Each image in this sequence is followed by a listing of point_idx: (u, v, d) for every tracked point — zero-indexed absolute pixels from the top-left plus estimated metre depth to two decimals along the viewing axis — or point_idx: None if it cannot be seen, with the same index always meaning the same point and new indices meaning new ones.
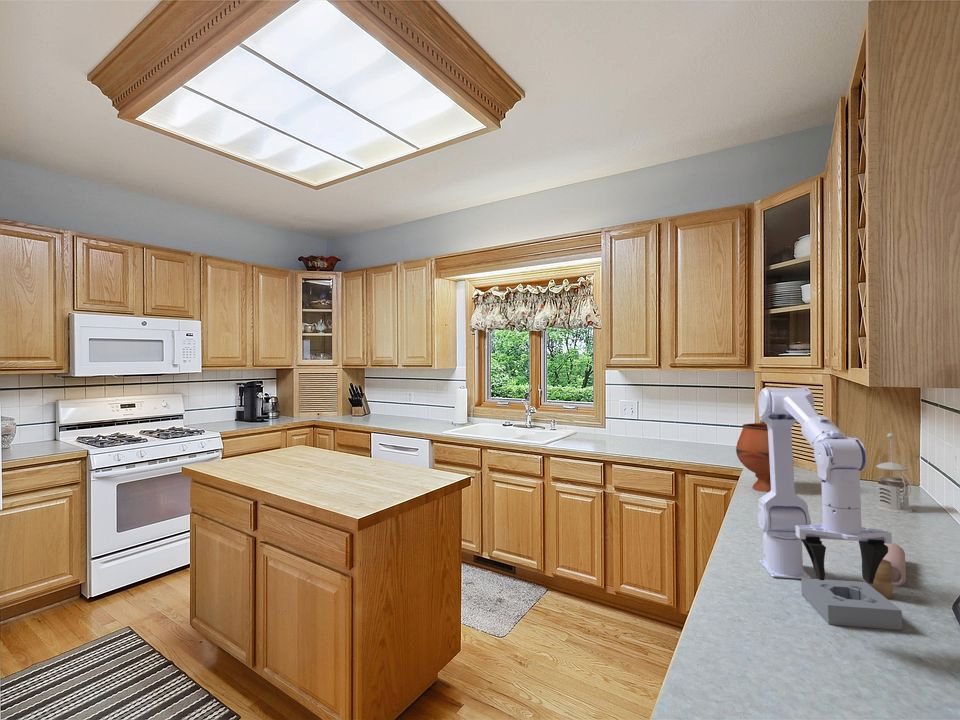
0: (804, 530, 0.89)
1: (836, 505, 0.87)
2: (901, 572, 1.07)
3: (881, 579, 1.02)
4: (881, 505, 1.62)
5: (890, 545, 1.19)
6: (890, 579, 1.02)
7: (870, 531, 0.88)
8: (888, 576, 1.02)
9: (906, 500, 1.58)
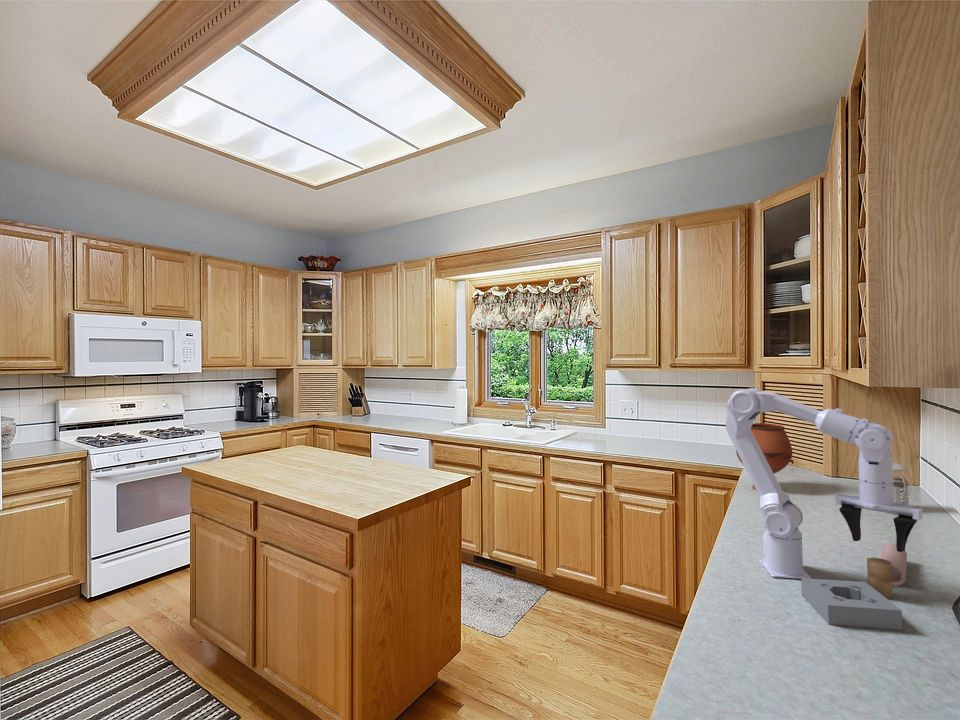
0: (839, 497, 1.09)
1: (888, 482, 1.01)
2: (901, 572, 1.07)
3: (881, 579, 1.02)
4: None
5: (892, 545, 1.19)
6: (890, 579, 1.02)
7: (902, 507, 1.00)
8: (888, 576, 1.02)
9: (906, 500, 1.58)
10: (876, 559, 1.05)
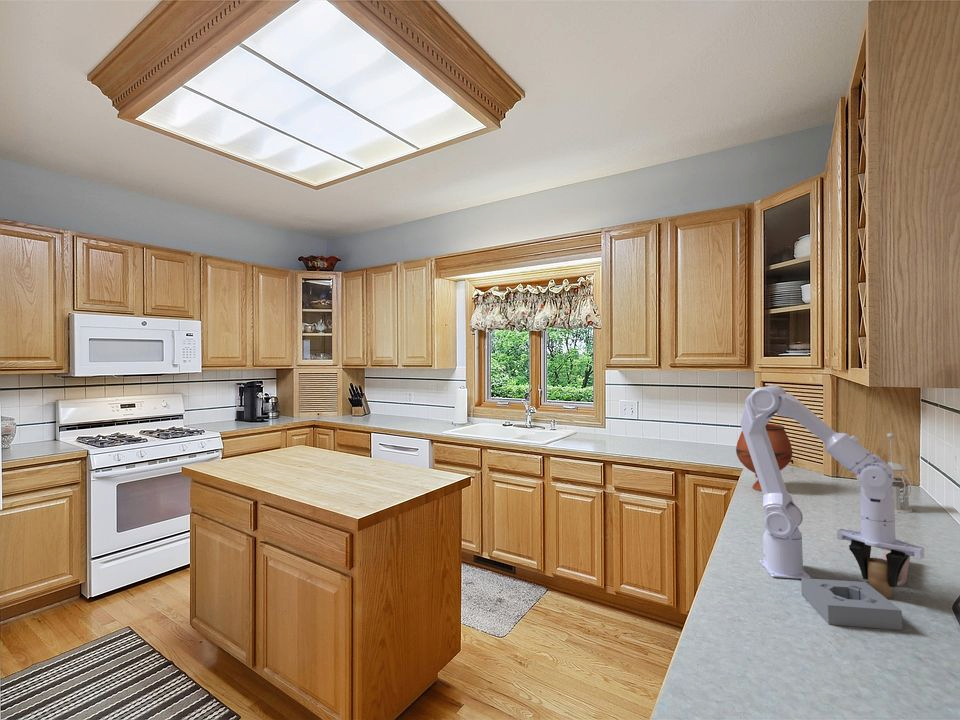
0: (840, 532, 1.09)
1: (890, 519, 1.01)
2: (902, 572, 1.07)
3: (881, 579, 1.02)
4: None
5: None
6: None
7: (903, 545, 1.00)
8: (888, 576, 1.02)
9: (906, 500, 1.58)
10: (876, 559, 1.05)
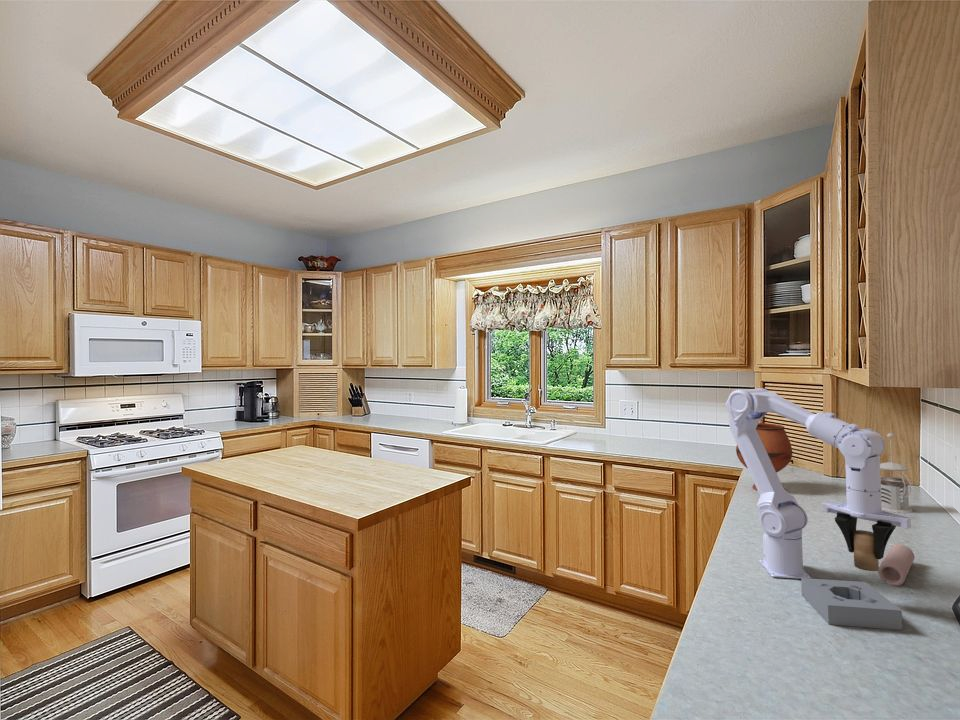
0: (826, 505, 1.06)
1: (871, 489, 0.98)
2: (900, 572, 1.07)
3: (867, 551, 0.99)
4: None
5: (898, 546, 1.18)
6: None
7: (890, 515, 0.97)
8: (874, 548, 0.99)
9: (906, 500, 1.58)
10: (862, 531, 1.02)
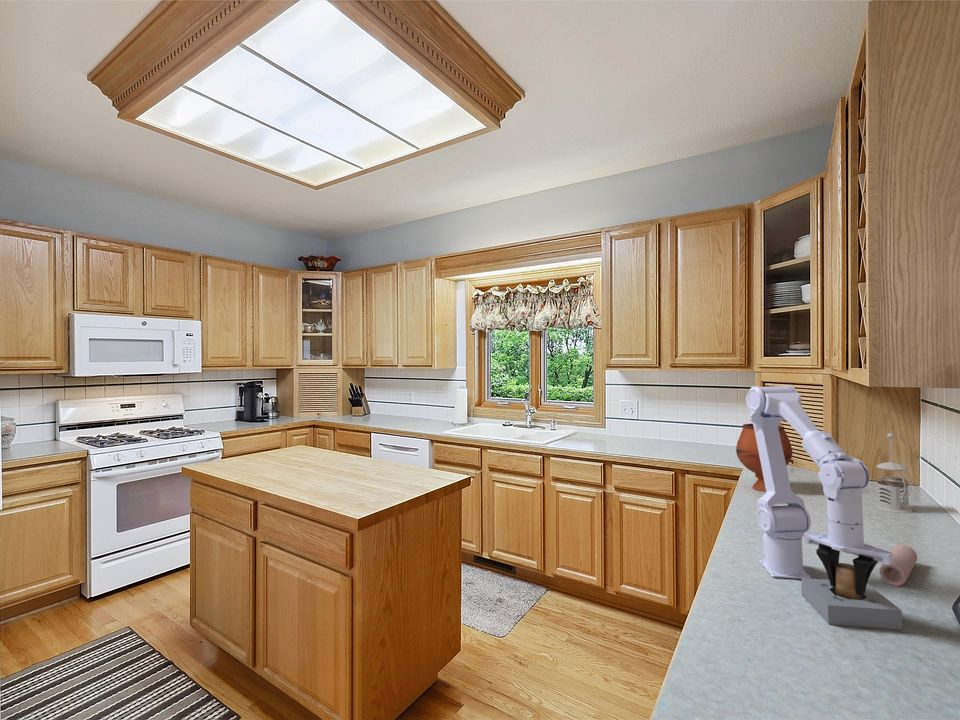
0: (807, 535, 1.02)
1: (845, 522, 0.95)
2: (901, 572, 1.07)
3: (848, 586, 0.95)
4: (881, 505, 1.62)
5: (901, 547, 1.18)
6: None
7: (872, 550, 0.93)
8: None
9: (906, 500, 1.58)
10: (844, 565, 0.98)
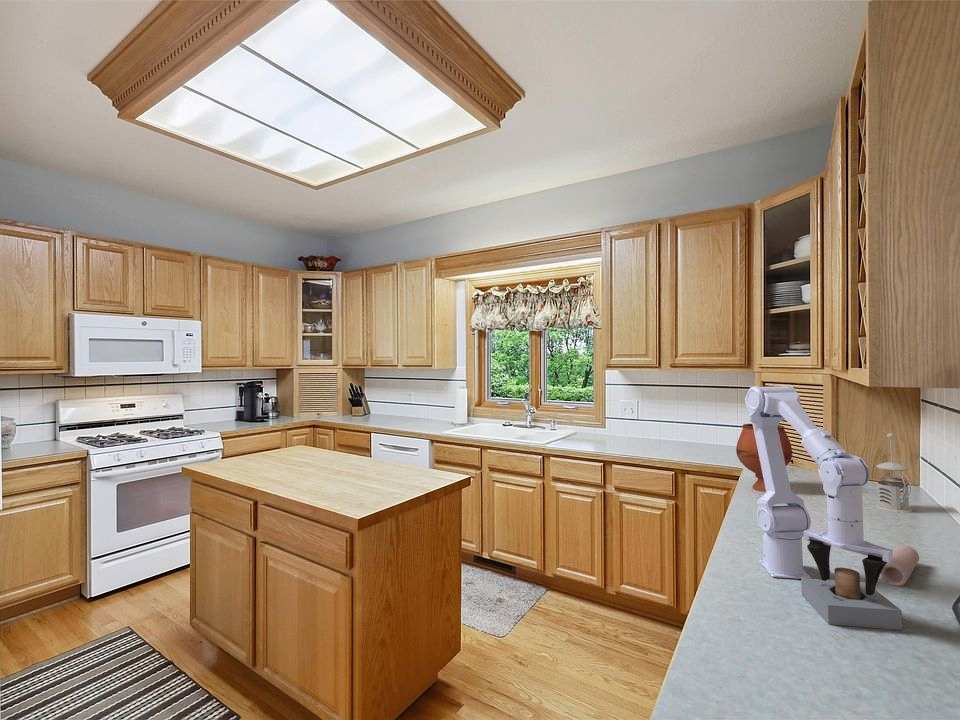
0: (807, 533, 1.02)
1: (845, 519, 0.95)
2: (902, 572, 1.07)
3: (848, 591, 0.95)
4: (881, 505, 1.62)
5: (902, 547, 1.18)
6: (858, 590, 0.95)
7: (872, 547, 0.93)
8: (856, 588, 0.95)
9: (906, 500, 1.58)
10: (844, 569, 0.98)
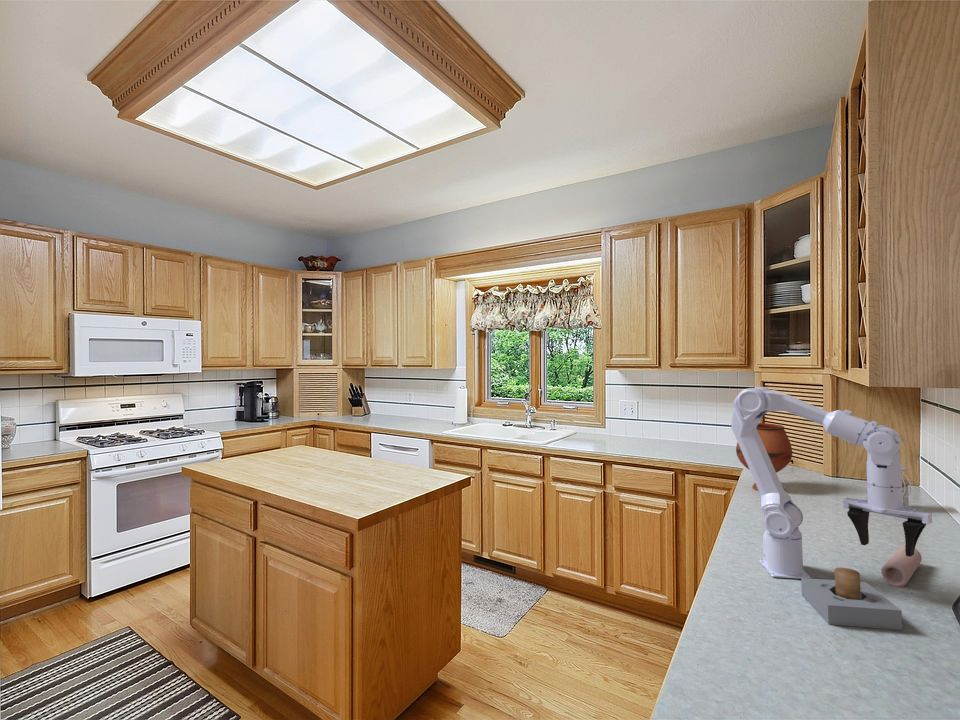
0: (846, 500, 1.08)
1: (897, 485, 1.00)
2: (903, 573, 1.06)
3: (848, 591, 0.95)
4: None
5: None
6: (859, 590, 0.95)
7: (911, 511, 0.99)
8: (856, 588, 0.95)
9: (906, 500, 1.58)
10: (844, 569, 0.98)
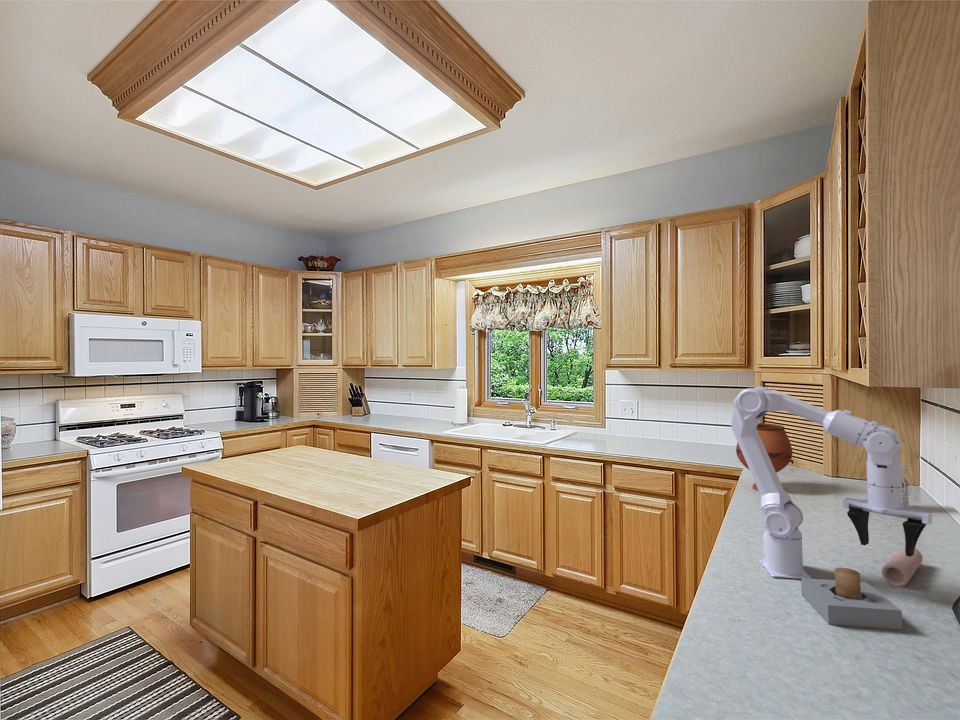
0: (846, 500, 1.08)
1: (897, 485, 1.00)
2: (903, 573, 1.06)
3: (848, 591, 0.95)
4: None
5: None
6: (859, 591, 0.95)
7: (911, 511, 0.99)
8: (856, 588, 0.95)
9: (906, 500, 1.58)
10: (844, 569, 0.98)
